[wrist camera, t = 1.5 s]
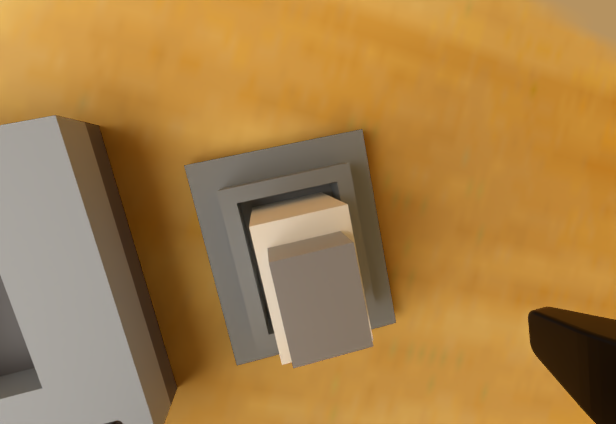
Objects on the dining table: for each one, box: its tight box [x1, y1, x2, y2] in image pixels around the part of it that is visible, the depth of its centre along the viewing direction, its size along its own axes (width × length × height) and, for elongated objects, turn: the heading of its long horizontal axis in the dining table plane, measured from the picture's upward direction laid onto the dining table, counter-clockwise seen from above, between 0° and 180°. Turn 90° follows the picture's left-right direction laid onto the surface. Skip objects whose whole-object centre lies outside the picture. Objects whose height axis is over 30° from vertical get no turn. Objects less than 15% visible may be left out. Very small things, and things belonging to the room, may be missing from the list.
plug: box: [249, 192, 373, 368], centre depth 16 cm, size 6×4×8 cm, turn 12°
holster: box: [184, 129, 396, 365], centre depth 19 cm, size 12×10×3 cm
